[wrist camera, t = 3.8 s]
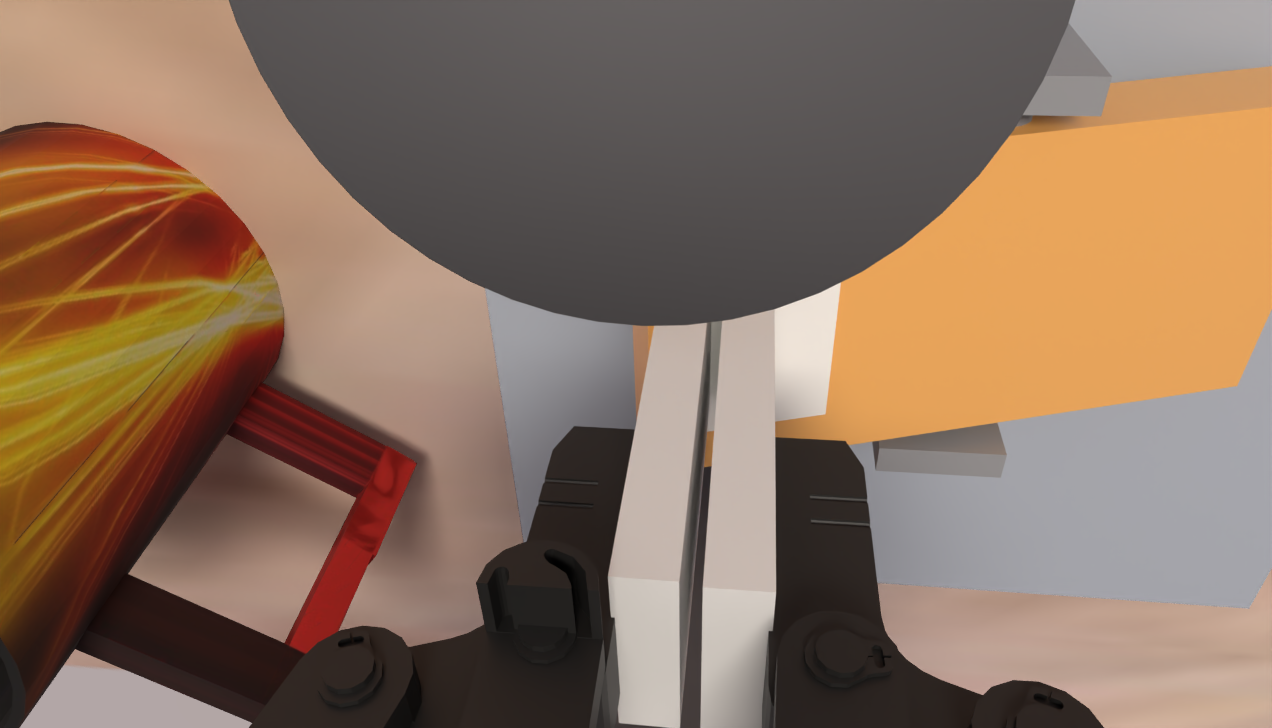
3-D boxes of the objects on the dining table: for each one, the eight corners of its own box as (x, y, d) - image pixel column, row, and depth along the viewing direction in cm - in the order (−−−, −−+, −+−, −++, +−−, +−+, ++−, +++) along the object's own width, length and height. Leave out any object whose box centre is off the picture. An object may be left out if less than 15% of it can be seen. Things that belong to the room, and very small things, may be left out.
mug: (428, 456, 30) (267, 829, 20) (6, 381, 30) (-349, 716, 21) (425, 183, 24) (196, 530, 14) (-101, 92, 24) (-668, 375, 15)
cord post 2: (649, 514, 26) (556, 1158, 15) (645, 413, 24) (533, 1081, 13) (780, 522, 25) (786, 1190, 14) (789, 421, 23) (804, 1116, 12)
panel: (545, 487, 30) (493, 675, 24) (416, -552, 16) (218, -670, 10) (1208, 526, 28) (1317, 744, 22) (1772, -645, 13) (2486, -861, 8)
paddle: (636, 424, 19) (654, 484, 17) (624, 127, 15) (644, 174, 14) (1184, 344, 20) (1240, 394, 19) (1297, 58, 16) (1377, 93, 15)
